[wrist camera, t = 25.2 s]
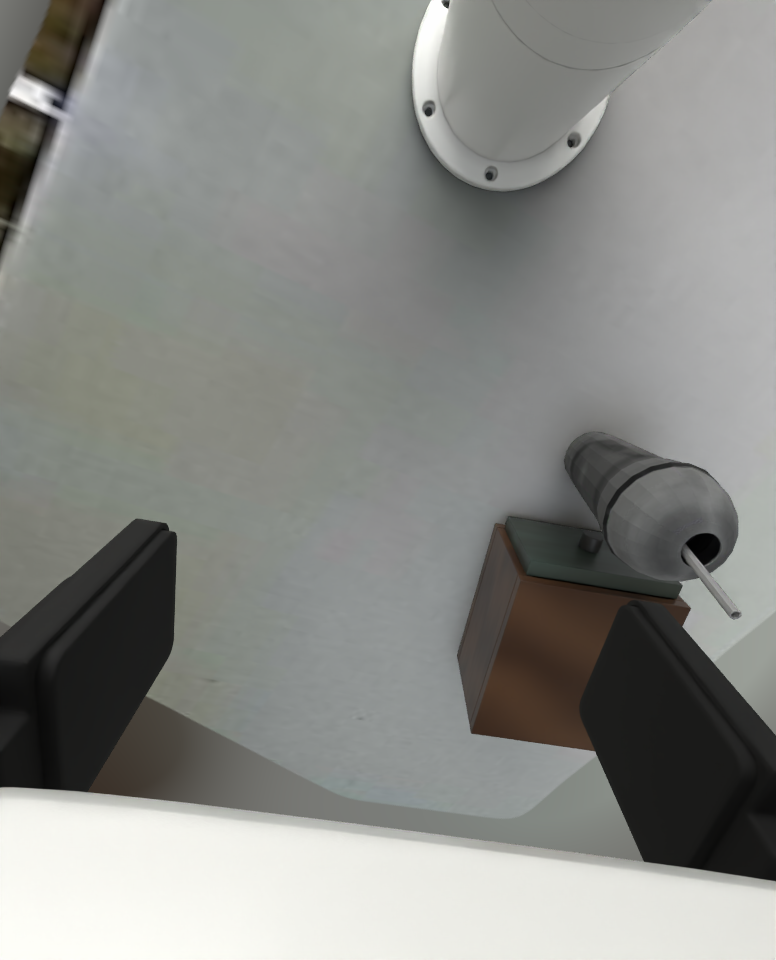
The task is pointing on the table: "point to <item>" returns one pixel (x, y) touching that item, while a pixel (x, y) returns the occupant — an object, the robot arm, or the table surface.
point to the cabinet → (535, 649)
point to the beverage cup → (656, 511)
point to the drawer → (579, 559)
